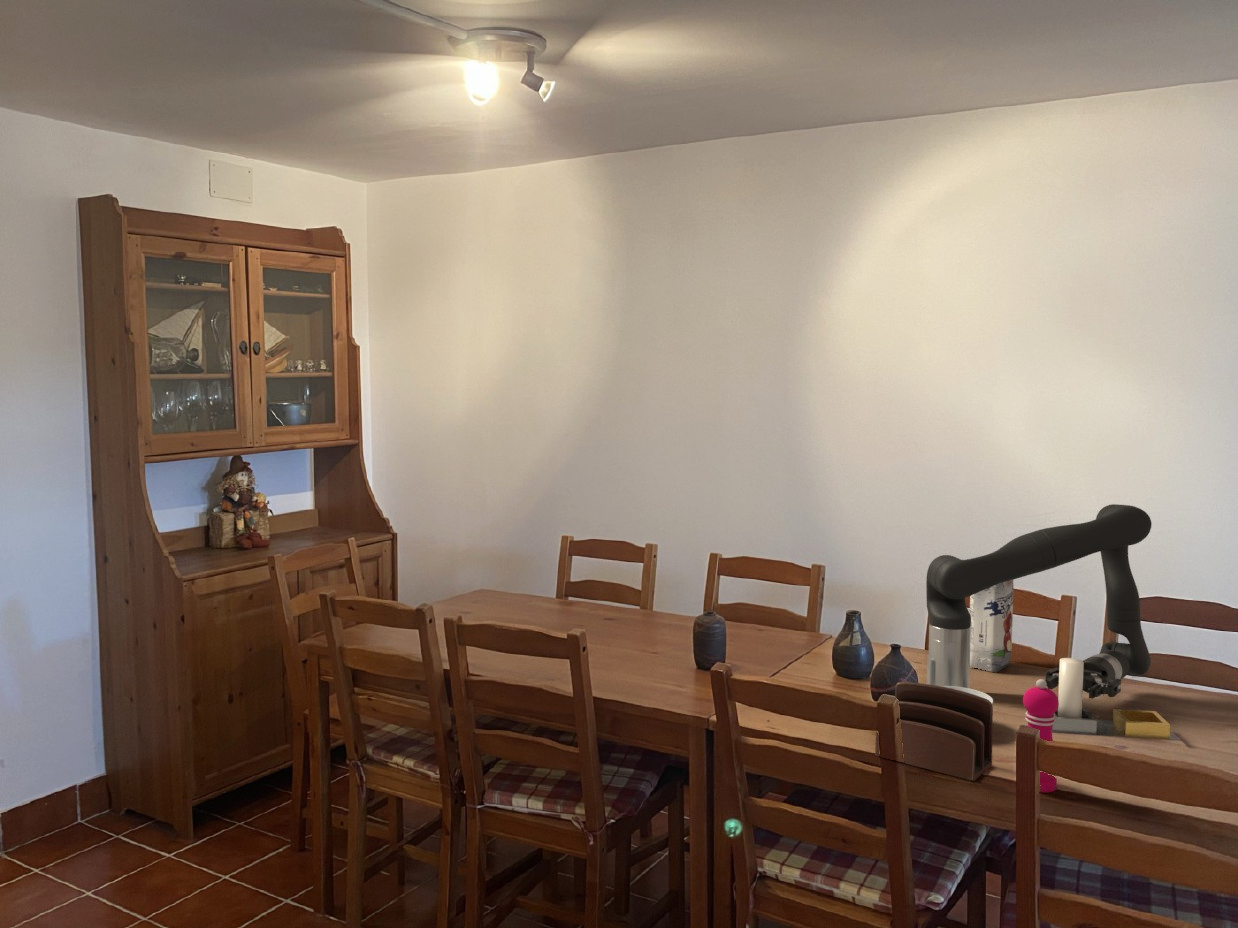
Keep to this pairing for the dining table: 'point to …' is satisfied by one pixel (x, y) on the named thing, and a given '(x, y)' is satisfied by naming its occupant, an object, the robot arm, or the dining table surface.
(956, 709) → the letter holder
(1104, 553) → the robot arm
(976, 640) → the juice carton
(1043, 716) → the pepper mill
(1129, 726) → the peg insertion base
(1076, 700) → the cream peg
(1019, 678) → the dining table surface
